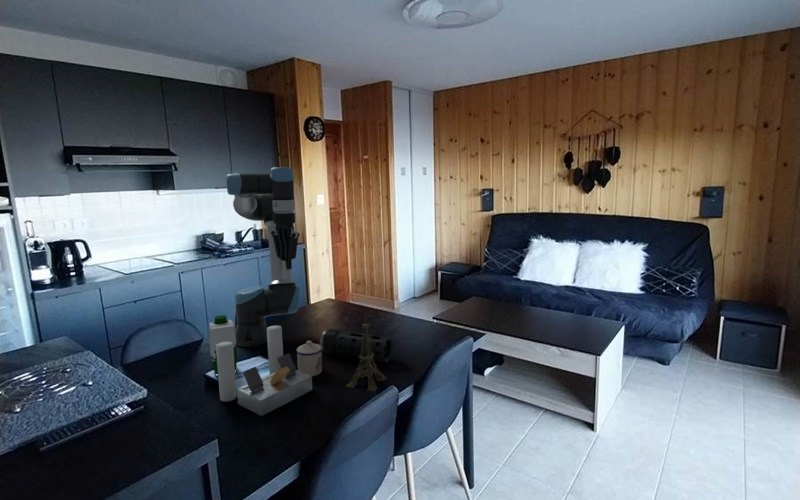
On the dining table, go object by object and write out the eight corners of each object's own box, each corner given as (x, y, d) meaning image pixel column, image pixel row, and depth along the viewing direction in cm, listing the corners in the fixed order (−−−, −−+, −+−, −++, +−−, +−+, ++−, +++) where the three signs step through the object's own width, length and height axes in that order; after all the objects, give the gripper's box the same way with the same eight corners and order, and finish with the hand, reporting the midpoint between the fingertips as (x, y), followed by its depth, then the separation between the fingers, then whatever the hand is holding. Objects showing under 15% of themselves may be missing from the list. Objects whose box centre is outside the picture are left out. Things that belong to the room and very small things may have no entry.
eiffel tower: (346, 386, 147) (344, 315, 143) (359, 373, 157) (358, 306, 153) (374, 391, 143) (373, 319, 139) (386, 378, 153) (386, 309, 149)
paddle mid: (269, 382, 138) (277, 370, 135) (279, 377, 141) (287, 366, 138) (271, 386, 138) (279, 374, 134) (282, 381, 141) (290, 370, 137)
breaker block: (237, 403, 136) (236, 388, 135) (289, 380, 152) (288, 365, 151) (261, 416, 129) (260, 399, 128) (312, 389, 145) (311, 374, 144)
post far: (266, 376, 154) (263, 328, 152) (278, 371, 158) (275, 324, 155) (275, 380, 152) (272, 331, 149) (287, 375, 155) (284, 327, 152)
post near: (217, 398, 139) (212, 345, 137) (231, 392, 143) (227, 340, 140) (225, 403, 137) (221, 348, 134) (239, 396, 140) (236, 343, 138)
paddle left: (251, 392, 133) (242, 372, 135) (262, 387, 137) (253, 368, 138) (253, 390, 132) (244, 371, 134) (264, 385, 136) (256, 366, 137)
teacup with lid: (321, 376, 154) (320, 345, 152) (295, 378, 153) (294, 346, 152) (324, 362, 166) (323, 333, 164) (300, 363, 165) (299, 334, 163)
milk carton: (236, 363, 165) (232, 313, 162) (239, 373, 158) (235, 320, 154) (211, 368, 161) (206, 317, 158) (213, 378, 154) (208, 324, 150)
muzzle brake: (383, 368, 161) (383, 342, 159) (318, 357, 171) (317, 332, 170) (393, 358, 170) (393, 333, 168) (331, 348, 180) (330, 324, 178)
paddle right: (285, 377, 144) (277, 358, 145) (294, 372, 147) (286, 354, 148) (287, 375, 143) (279, 357, 144) (297, 371, 146) (289, 353, 147)
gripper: (263, 212, 153) (267, 277, 157) (287, 213, 145) (290, 282, 149) (280, 210, 159) (284, 273, 163) (304, 212, 151) (307, 278, 155)
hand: (287, 277), depth 156 cm, fingers closed
